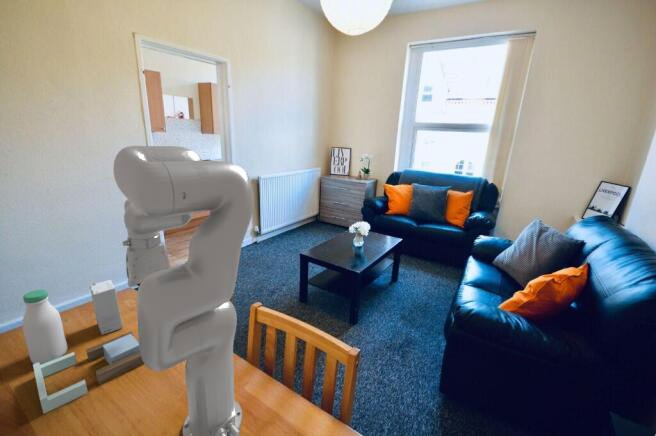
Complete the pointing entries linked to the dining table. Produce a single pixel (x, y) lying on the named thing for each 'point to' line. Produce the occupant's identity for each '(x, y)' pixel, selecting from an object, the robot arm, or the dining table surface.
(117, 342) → the block
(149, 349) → the robot arm
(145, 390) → the dining table surface
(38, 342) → the milk bottle
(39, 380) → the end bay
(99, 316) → the skincare box
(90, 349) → the brown parallel rails
